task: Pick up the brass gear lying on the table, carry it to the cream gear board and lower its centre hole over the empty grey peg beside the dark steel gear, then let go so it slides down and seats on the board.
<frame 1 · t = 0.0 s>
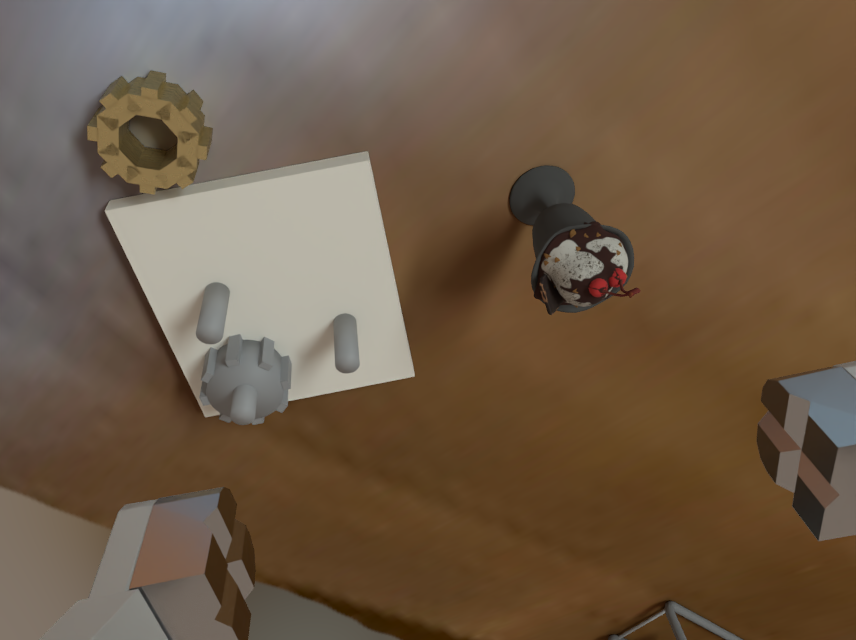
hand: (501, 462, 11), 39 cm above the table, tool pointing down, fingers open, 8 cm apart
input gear: (156, 124, 46), on the table
gear board: (278, 292, 55), on the table
sundae: (541, 193, 53), on the table
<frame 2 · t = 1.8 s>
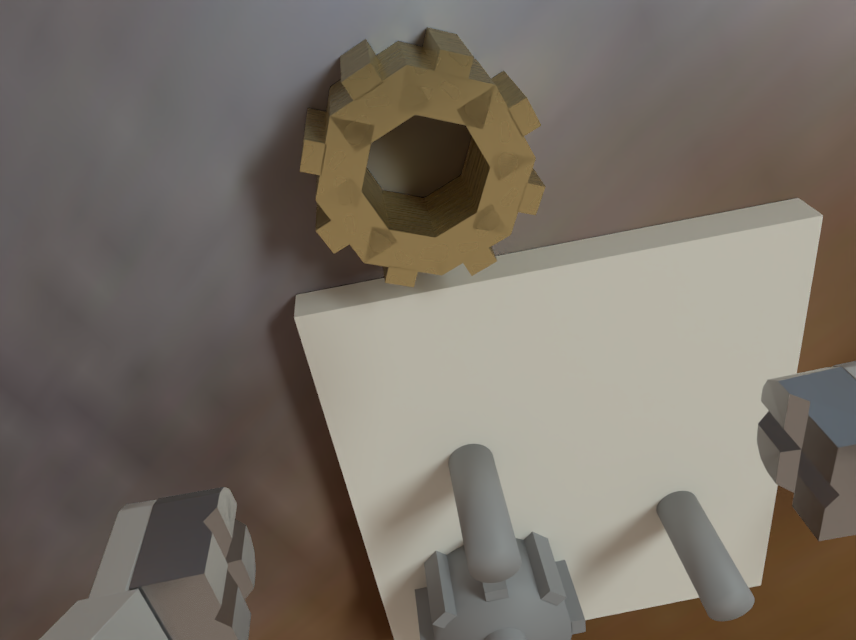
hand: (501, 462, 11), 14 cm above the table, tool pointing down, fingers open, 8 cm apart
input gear: (415, 144, 22), on the table
gear board: (562, 451, 30), on the table
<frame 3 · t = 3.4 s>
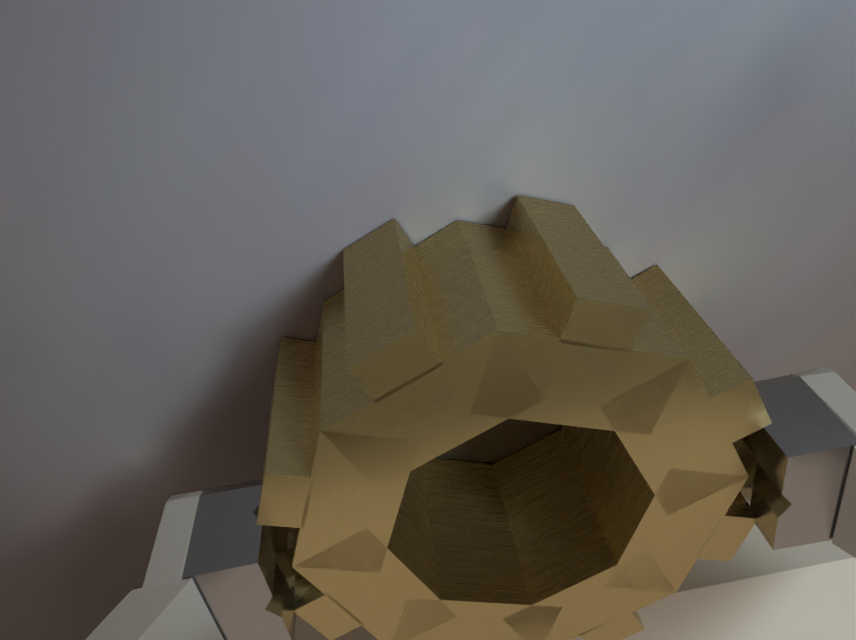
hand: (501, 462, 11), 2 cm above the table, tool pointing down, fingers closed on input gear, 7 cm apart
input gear: (481, 386, 12), on the table, touching gripper
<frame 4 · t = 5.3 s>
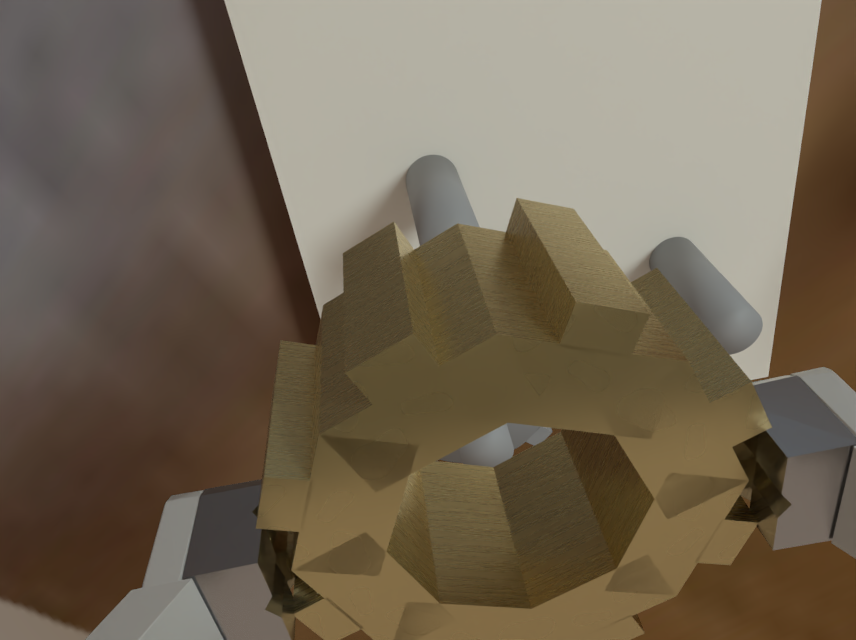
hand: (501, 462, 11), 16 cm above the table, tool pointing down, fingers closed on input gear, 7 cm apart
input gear: (481, 389, 12), point 15 cm above the table, touching gripper
gear board: (540, 193, 26), on the table
when the fingers open (5 cm above the table, at t = 7.7 s): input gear stays where it is, resting on gear board.
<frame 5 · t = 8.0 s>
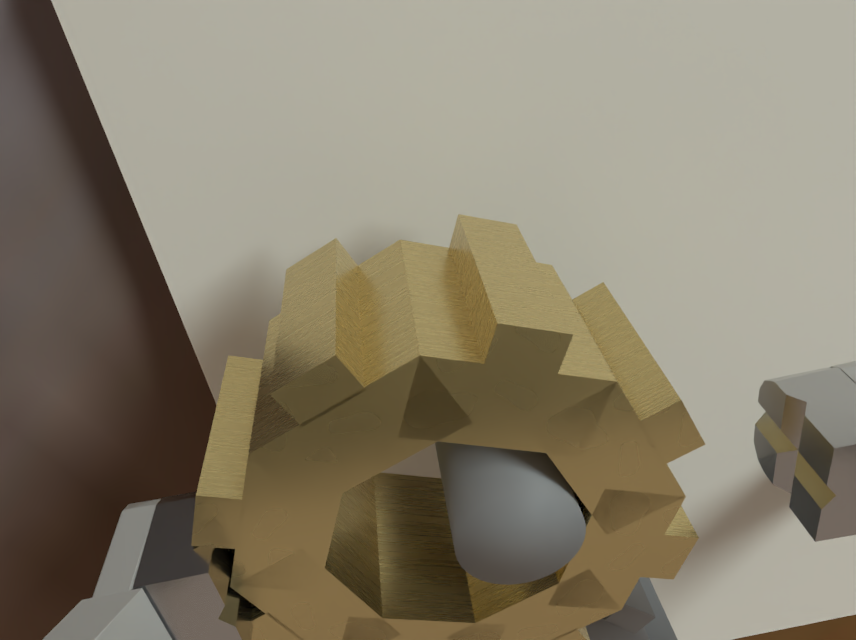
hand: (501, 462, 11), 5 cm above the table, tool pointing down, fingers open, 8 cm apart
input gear: (433, 402, 12), point 3 cm above the table, touching gear board, gripper
gear board: (635, 341, 16), on the table
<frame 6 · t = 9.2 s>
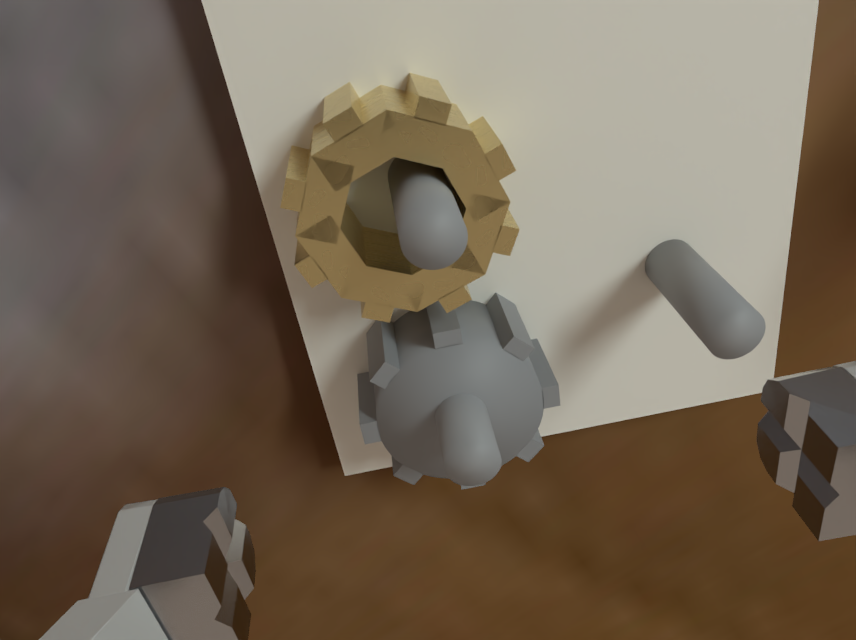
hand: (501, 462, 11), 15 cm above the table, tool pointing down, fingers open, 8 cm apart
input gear: (395, 183, 23), point 1 cm above the table, touching gear board
gear board: (530, 193, 25), on the table
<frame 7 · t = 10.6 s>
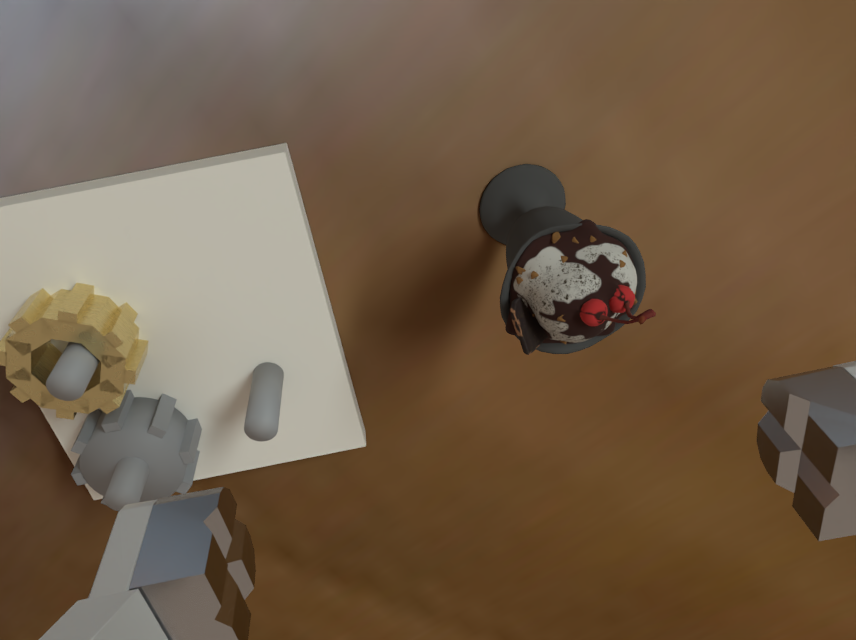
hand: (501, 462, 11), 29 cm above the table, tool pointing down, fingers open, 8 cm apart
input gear: (83, 337, 40), point 1 cm above the table, touching gear board
gear board: (181, 334, 42), on the table
sundae: (521, 203, 40), on the table
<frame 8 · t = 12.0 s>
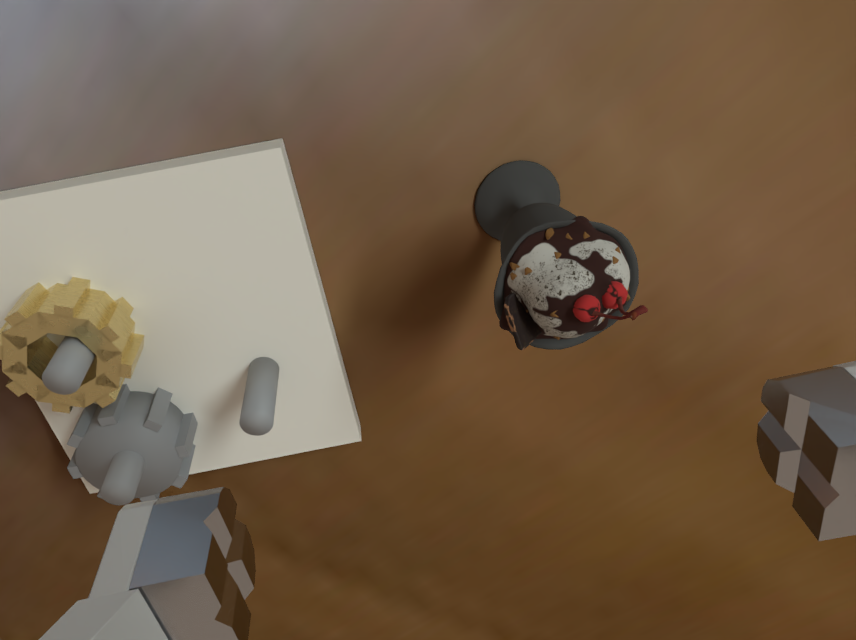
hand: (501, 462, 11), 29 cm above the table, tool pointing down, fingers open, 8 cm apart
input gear: (79, 331, 40), point 1 cm above the table, touching gear board
gear board: (177, 328, 42), on the table
sundae: (516, 199, 40), on the table
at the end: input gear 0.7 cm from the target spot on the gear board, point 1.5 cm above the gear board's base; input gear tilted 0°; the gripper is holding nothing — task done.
